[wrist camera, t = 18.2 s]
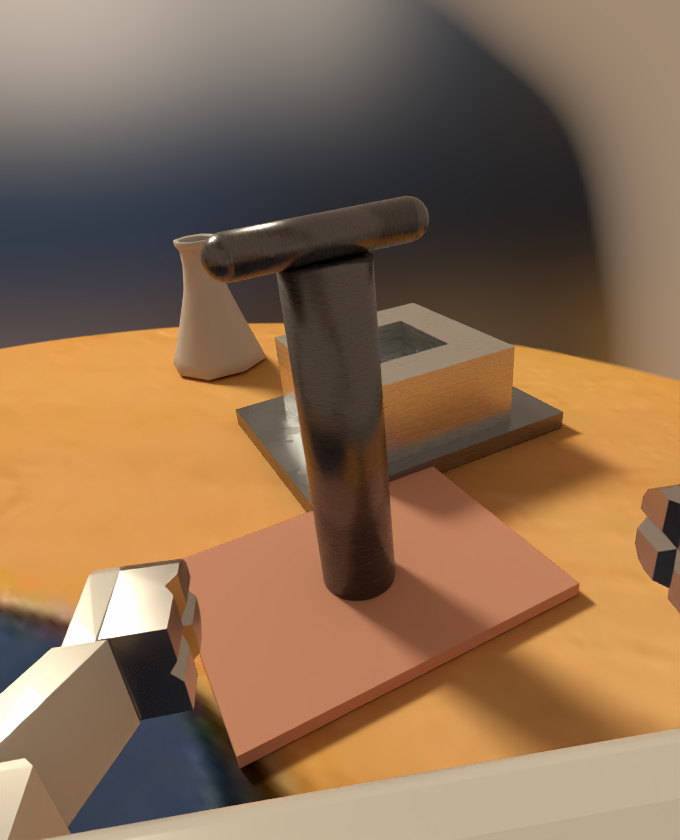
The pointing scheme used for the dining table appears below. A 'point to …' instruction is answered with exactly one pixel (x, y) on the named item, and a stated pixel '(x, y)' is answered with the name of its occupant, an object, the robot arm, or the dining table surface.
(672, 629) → the dining table surface
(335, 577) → the chuck key
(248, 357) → the flask
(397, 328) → the block
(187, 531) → the dining table surface
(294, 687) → the key mat
